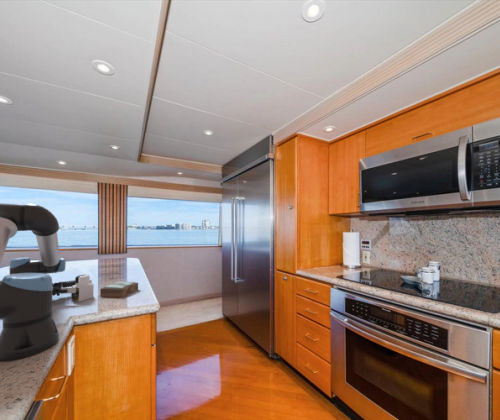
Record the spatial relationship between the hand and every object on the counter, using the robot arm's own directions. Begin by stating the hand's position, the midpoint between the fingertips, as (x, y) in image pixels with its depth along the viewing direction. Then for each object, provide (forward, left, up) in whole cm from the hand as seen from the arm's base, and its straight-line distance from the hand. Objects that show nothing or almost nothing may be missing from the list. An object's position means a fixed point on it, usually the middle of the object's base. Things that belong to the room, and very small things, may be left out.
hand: (83, 286), depth 123 cm
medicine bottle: (0, 0, -7) cm, 7 cm away
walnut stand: (+11, -13, -6) cm, 18 cm away
